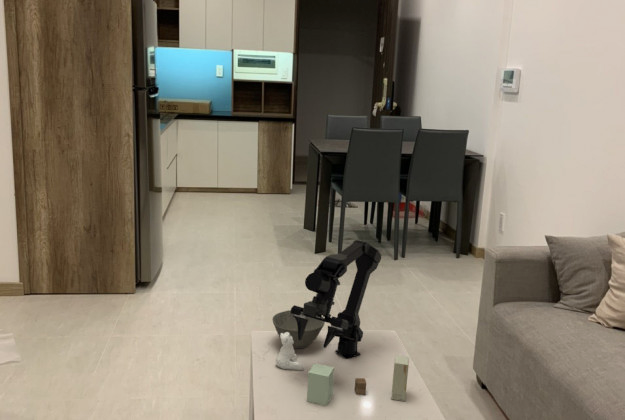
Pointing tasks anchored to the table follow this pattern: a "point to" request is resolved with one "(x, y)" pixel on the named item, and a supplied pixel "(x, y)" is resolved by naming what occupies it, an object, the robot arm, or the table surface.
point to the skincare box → (400, 377)
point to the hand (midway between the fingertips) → (311, 344)
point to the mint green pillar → (320, 384)
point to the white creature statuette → (288, 354)
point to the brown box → (360, 386)
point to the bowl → (289, 324)
